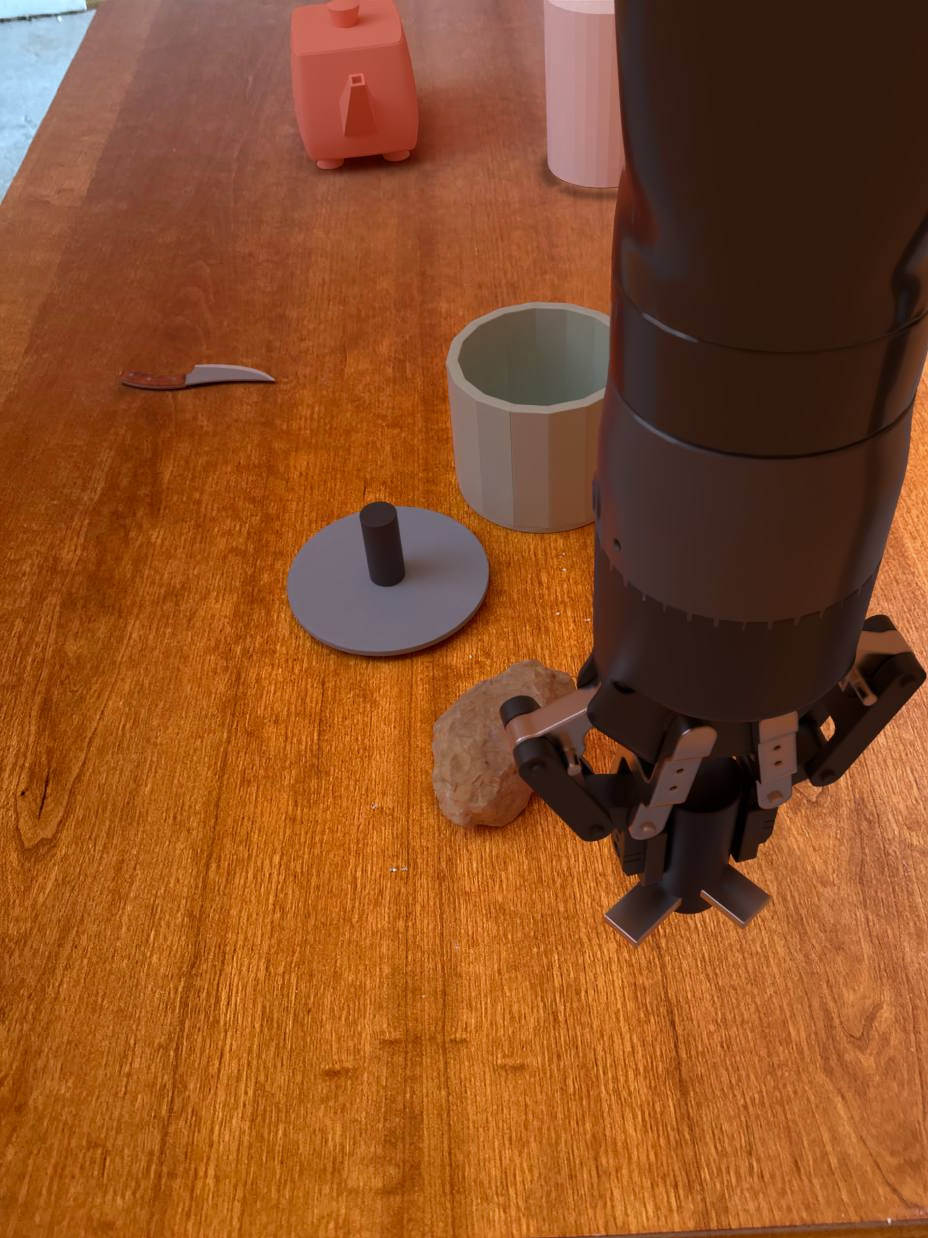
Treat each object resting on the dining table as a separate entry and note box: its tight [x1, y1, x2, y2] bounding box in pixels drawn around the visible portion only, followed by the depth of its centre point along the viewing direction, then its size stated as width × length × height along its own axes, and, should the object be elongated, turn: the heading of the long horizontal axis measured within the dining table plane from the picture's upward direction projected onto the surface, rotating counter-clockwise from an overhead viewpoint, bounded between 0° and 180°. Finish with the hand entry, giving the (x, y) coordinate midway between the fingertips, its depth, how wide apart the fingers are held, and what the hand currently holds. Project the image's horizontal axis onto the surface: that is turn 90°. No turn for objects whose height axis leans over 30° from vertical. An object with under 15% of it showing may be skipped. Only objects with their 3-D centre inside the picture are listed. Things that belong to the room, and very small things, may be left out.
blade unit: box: [603, 757, 772, 949], centre depth 42 cm, size 8×6×7 cm
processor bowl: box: [445, 301, 610, 534], centre depth 80 cm, size 13×13×10 cm
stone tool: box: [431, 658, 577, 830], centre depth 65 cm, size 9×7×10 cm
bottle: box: [543, 0, 625, 189], centre depth 107 cm, size 12×12×25 cm
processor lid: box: [286, 500, 490, 657], centre depth 75 cm, size 14×14×7 cm
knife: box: [117, 363, 276, 390], centre depth 94 cm, size 13×1×3 cm
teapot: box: [290, 0, 419, 170], centre depth 116 cm, size 22×13×14 cm, turn 7°
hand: (689, 850), depth 42 cm, fingers closed on blade unit, 3 cm apart
